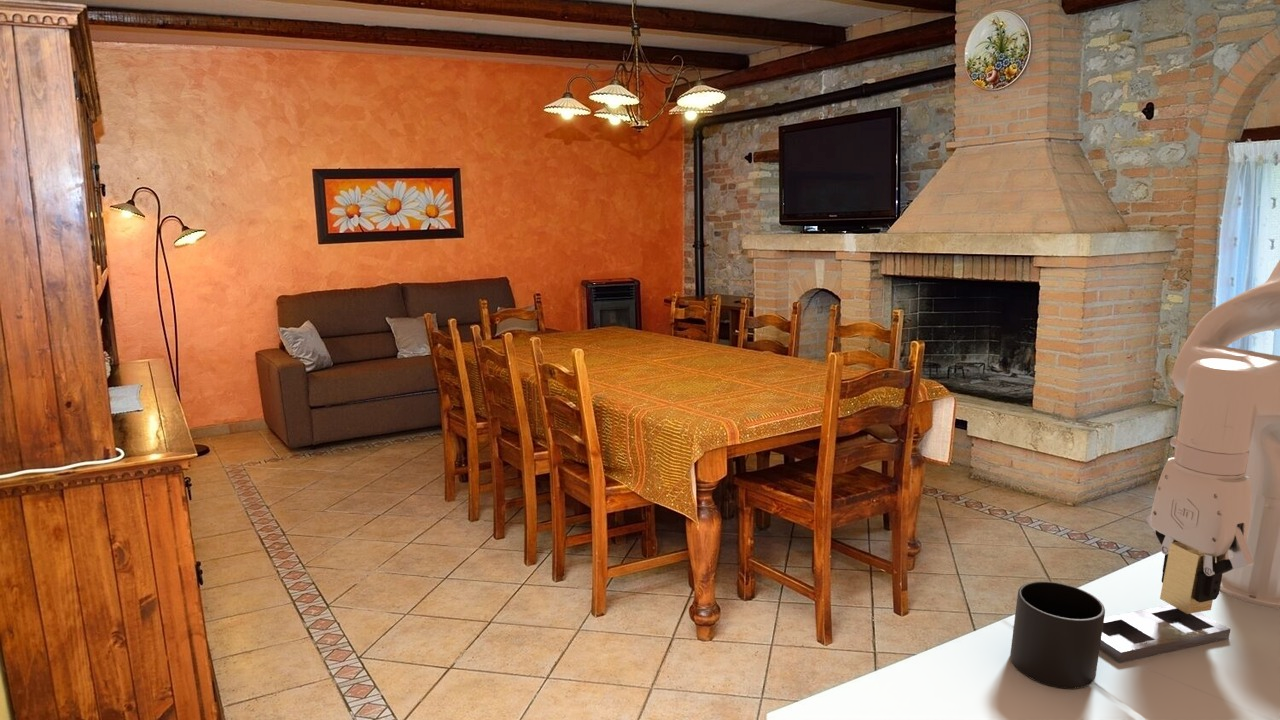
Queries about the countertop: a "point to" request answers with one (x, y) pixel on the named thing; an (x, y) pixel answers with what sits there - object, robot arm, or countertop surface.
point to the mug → (1057, 634)
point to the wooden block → (1183, 579)
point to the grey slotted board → (1157, 632)
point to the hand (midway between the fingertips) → (1188, 589)
